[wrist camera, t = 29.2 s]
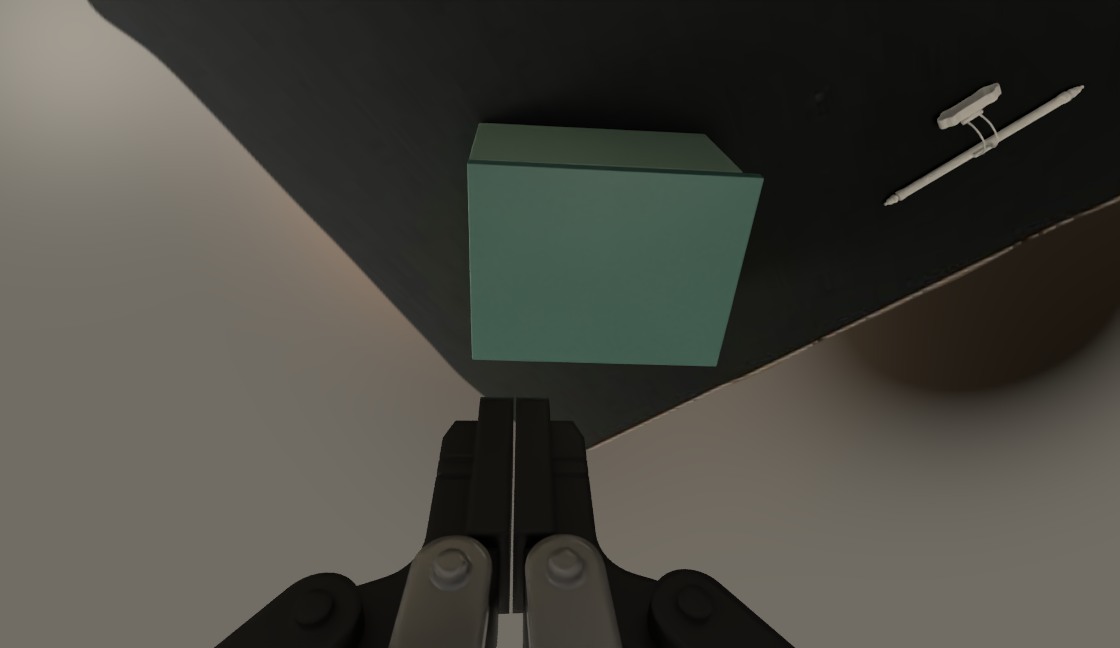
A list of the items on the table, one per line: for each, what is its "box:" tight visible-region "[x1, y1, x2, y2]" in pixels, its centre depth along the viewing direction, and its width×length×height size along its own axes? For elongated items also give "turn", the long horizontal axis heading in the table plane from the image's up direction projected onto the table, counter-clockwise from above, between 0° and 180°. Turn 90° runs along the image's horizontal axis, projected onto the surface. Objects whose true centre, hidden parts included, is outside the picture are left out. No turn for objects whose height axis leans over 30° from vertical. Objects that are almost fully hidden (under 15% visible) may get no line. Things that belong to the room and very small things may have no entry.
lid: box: [467, 159, 764, 366], centre depth 36 cm, size 16×13×1 cm
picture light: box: [884, 83, 1084, 206], centre depth 40 cm, size 14×4×2 cm, turn 126°
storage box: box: [469, 123, 742, 173], centre depth 40 cm, size 16×13×8 cm
